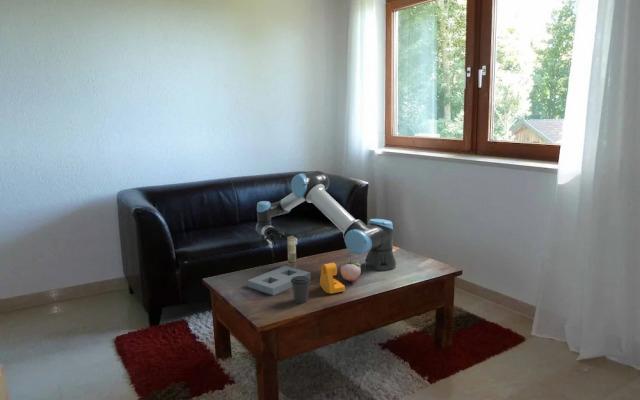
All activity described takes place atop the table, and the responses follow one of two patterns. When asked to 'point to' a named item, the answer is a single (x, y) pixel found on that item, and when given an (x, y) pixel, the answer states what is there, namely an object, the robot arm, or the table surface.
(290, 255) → the maple leg
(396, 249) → the table surface
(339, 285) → the bracket
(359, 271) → the decorative fruit
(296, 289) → the coffee cup
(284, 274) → the stool seat
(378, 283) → the table surface
